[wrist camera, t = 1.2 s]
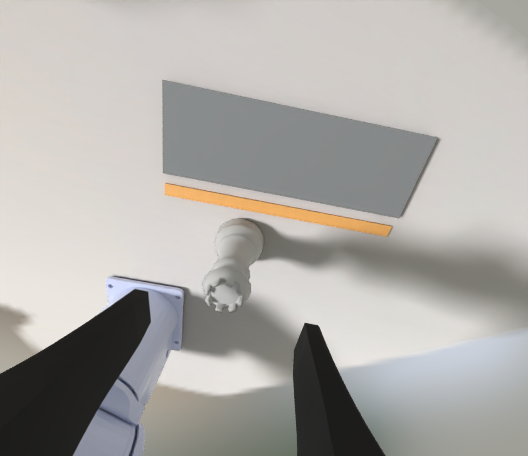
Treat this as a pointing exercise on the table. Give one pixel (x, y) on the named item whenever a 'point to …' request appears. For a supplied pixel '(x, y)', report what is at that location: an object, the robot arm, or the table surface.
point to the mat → (289, 150)
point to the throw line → (276, 210)
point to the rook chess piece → (233, 264)
